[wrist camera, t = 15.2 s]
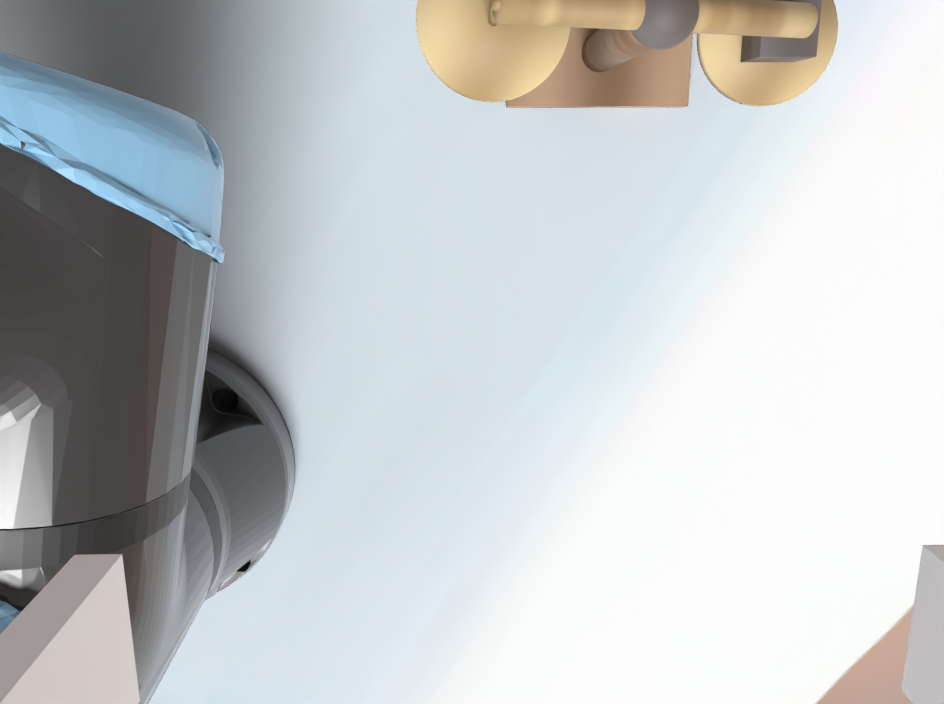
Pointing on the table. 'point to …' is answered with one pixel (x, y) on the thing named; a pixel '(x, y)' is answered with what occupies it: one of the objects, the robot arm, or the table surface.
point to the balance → (625, 49)
